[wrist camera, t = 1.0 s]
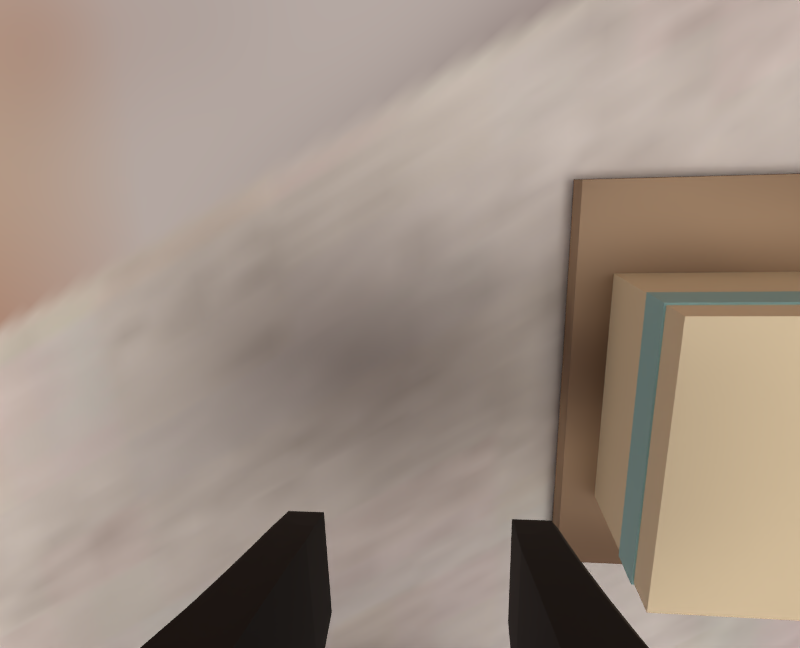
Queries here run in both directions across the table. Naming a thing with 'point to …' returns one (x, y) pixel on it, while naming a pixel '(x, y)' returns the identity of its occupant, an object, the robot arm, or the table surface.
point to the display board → (648, 253)
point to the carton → (704, 441)
